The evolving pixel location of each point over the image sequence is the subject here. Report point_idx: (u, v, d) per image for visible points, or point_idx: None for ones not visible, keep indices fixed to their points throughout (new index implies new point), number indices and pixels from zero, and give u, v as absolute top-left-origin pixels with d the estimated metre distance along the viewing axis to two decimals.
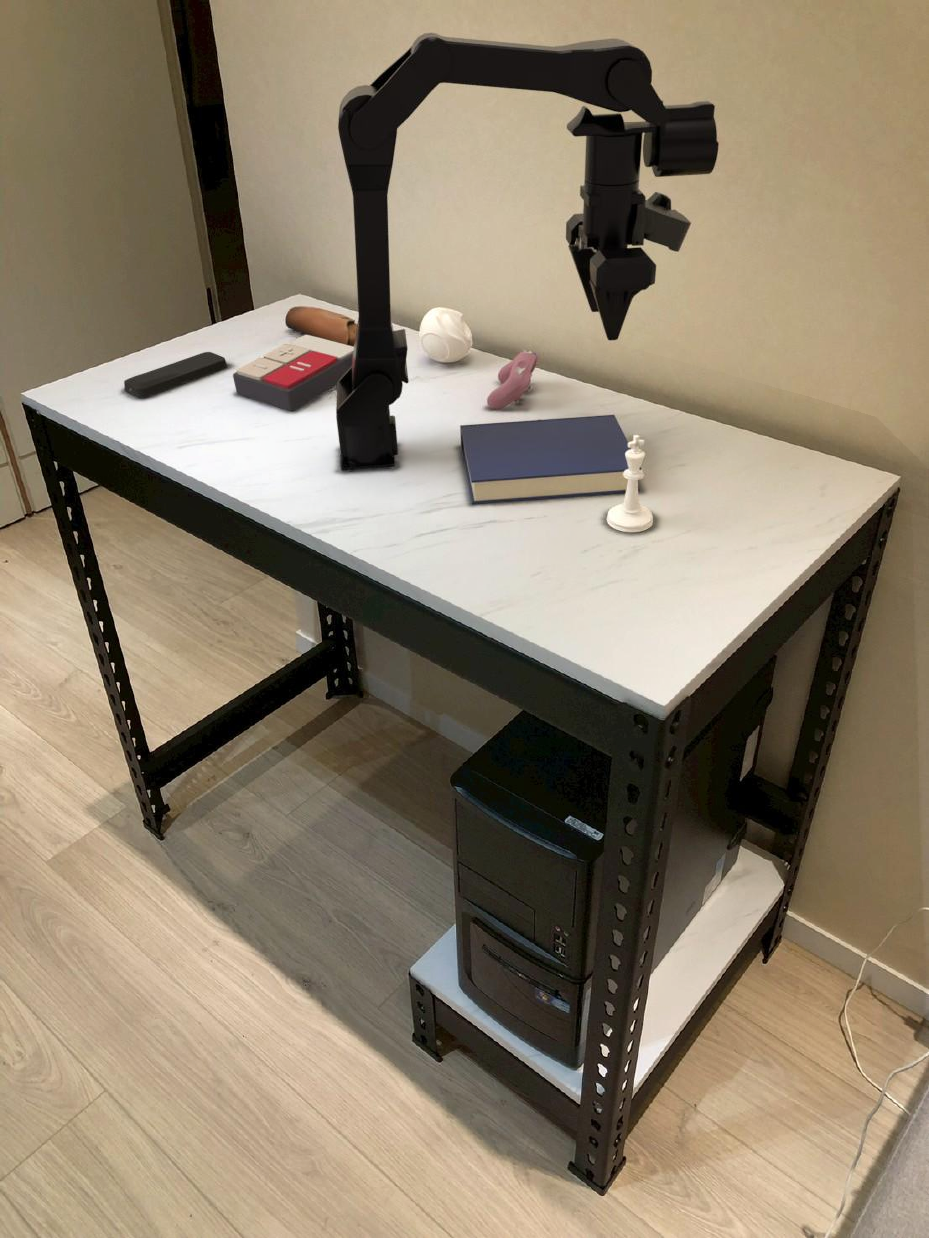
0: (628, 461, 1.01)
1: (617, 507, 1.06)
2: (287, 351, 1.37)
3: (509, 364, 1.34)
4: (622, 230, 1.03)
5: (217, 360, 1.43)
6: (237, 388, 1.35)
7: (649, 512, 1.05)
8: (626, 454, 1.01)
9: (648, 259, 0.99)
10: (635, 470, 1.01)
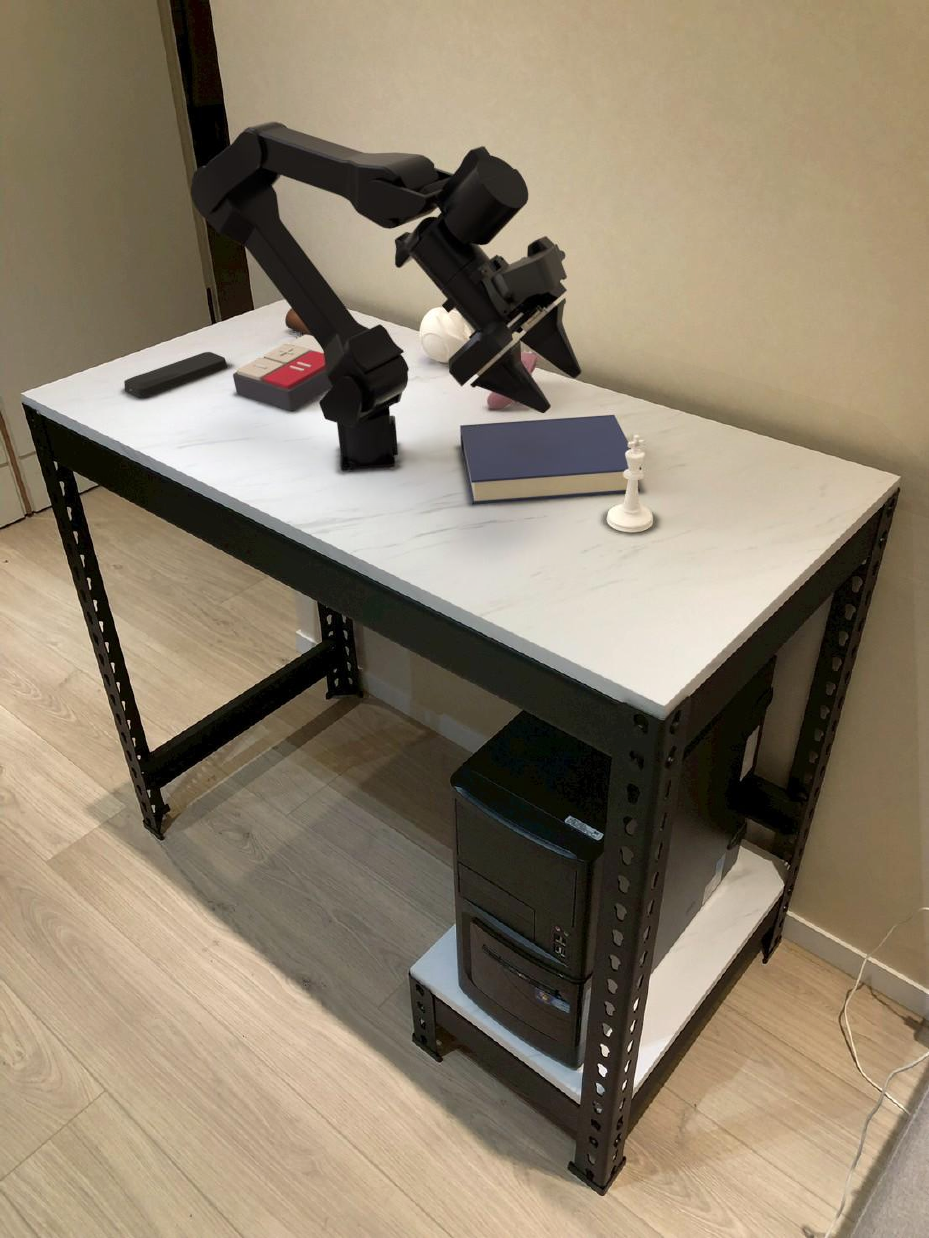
0: (628, 461, 1.01)
1: (617, 507, 1.06)
2: (287, 351, 1.37)
3: None
4: (485, 311, 0.96)
5: (218, 360, 1.43)
6: (237, 388, 1.35)
7: (649, 512, 1.05)
8: (626, 454, 1.01)
9: (478, 334, 0.91)
10: (635, 470, 1.01)
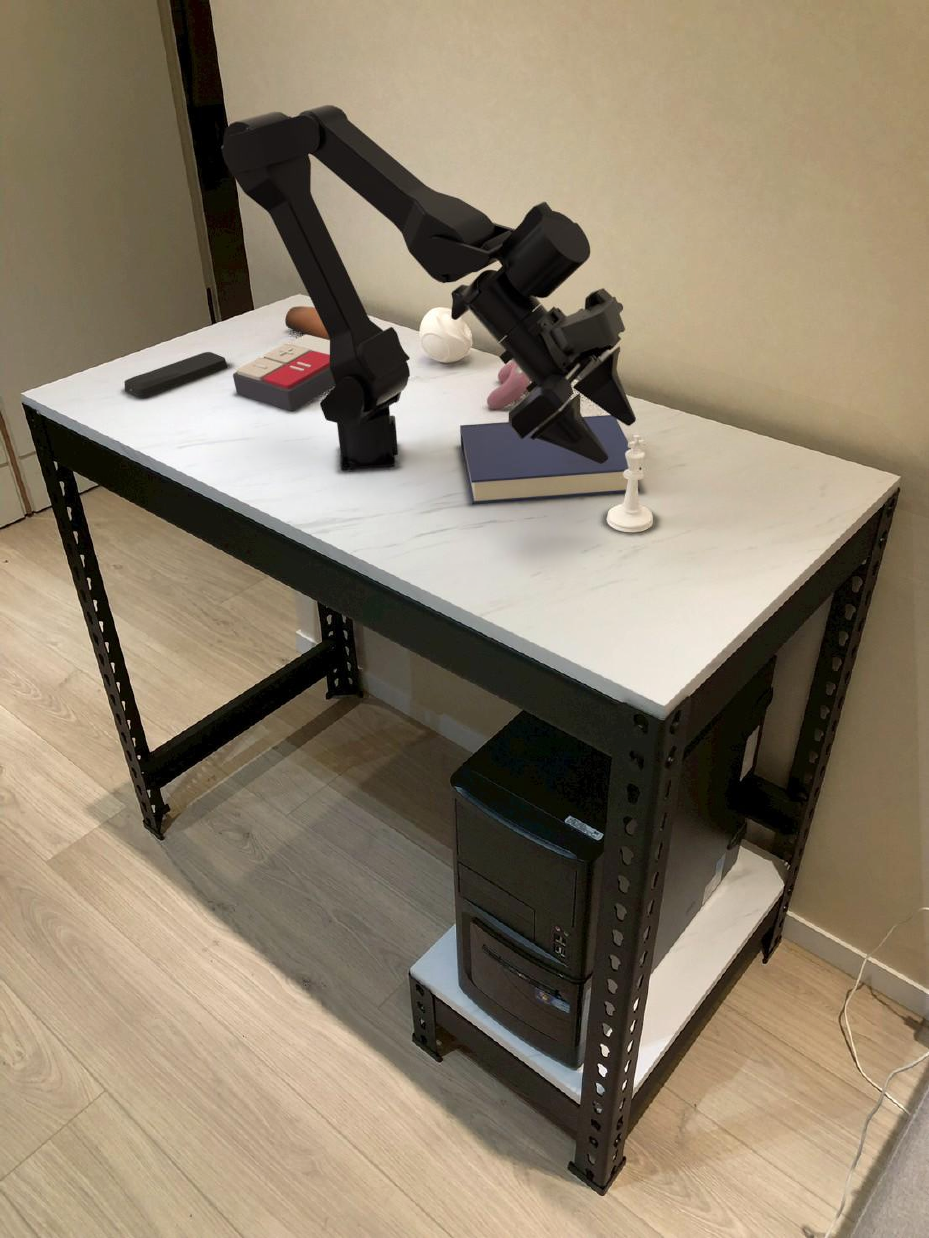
0: (628, 461, 1.01)
1: (617, 507, 1.06)
2: (287, 351, 1.37)
3: (509, 364, 1.34)
4: (544, 363, 0.96)
5: (218, 360, 1.43)
6: (237, 388, 1.35)
7: (649, 512, 1.05)
8: (626, 454, 1.01)
9: (539, 389, 0.91)
10: (635, 470, 1.01)
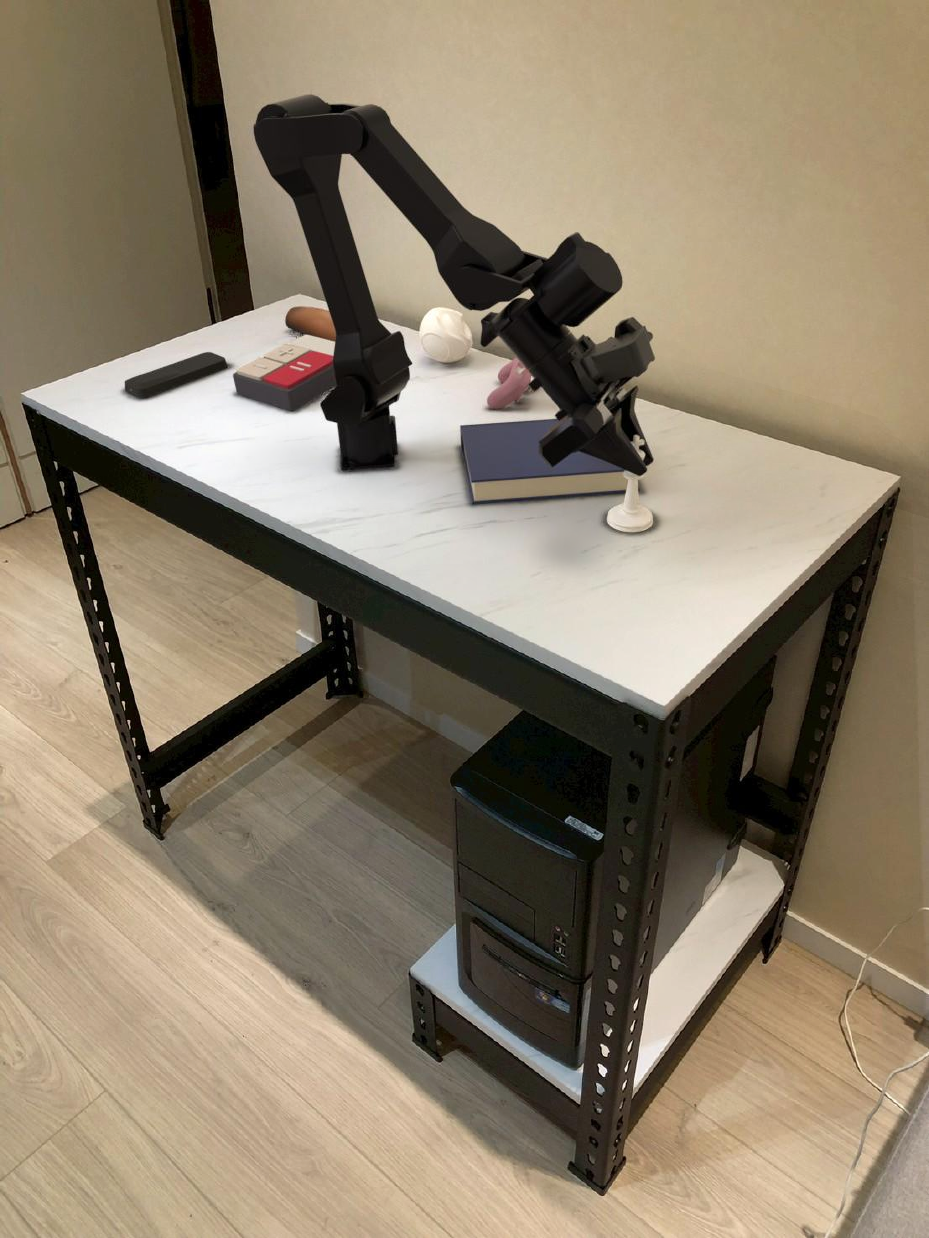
0: None
1: (617, 507, 1.06)
2: (287, 351, 1.37)
3: (509, 364, 1.34)
4: (574, 391, 0.97)
5: (218, 360, 1.43)
6: (237, 388, 1.35)
7: (649, 512, 1.05)
8: None
9: (571, 419, 0.92)
10: None
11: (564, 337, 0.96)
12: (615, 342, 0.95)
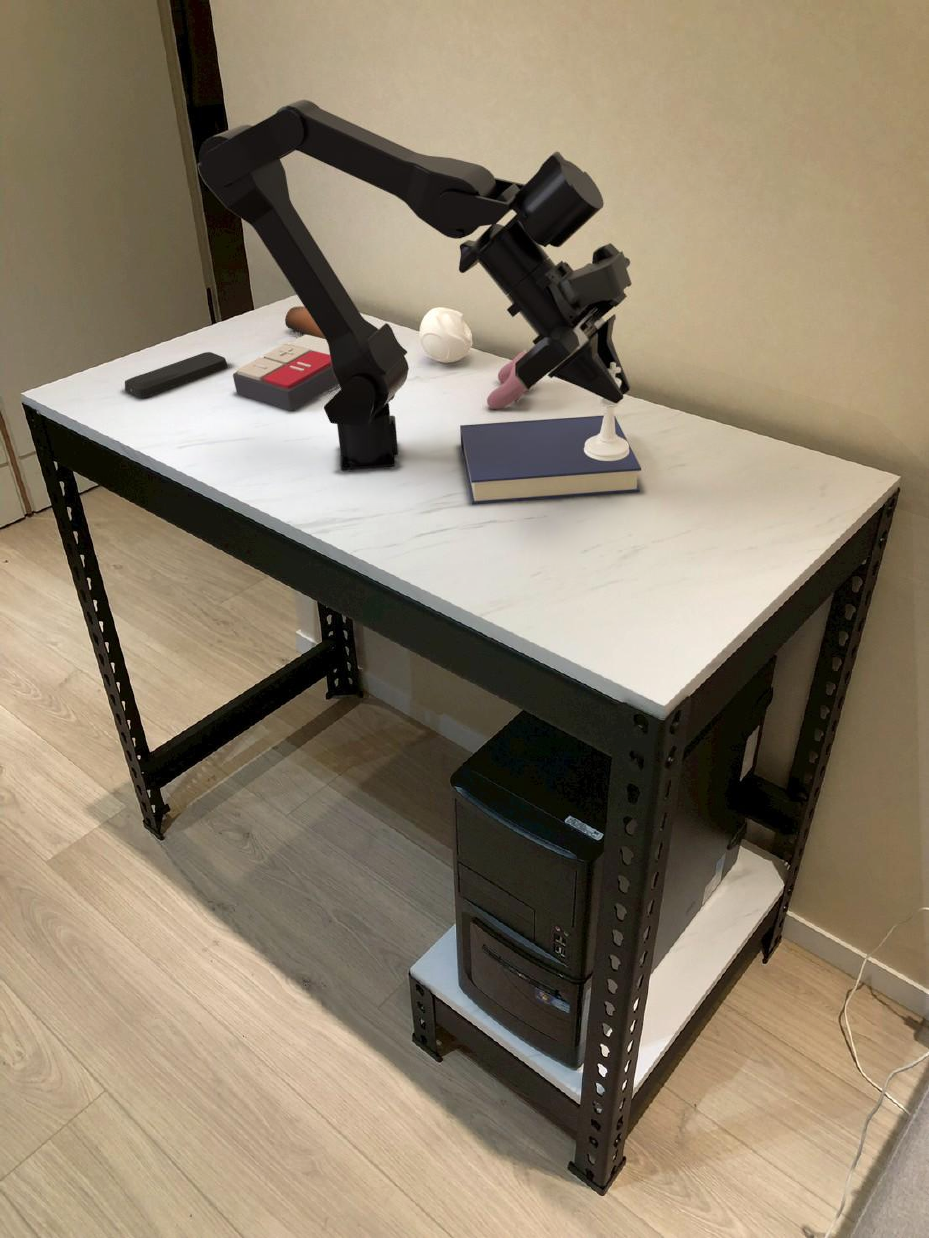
0: None
1: (594, 437, 1.07)
2: (287, 351, 1.37)
3: (509, 364, 1.34)
4: (551, 316, 0.98)
5: (218, 360, 1.43)
6: (237, 388, 1.35)
7: (625, 442, 1.06)
8: None
9: (546, 339, 0.93)
10: None
11: (542, 261, 0.97)
12: (592, 266, 0.96)
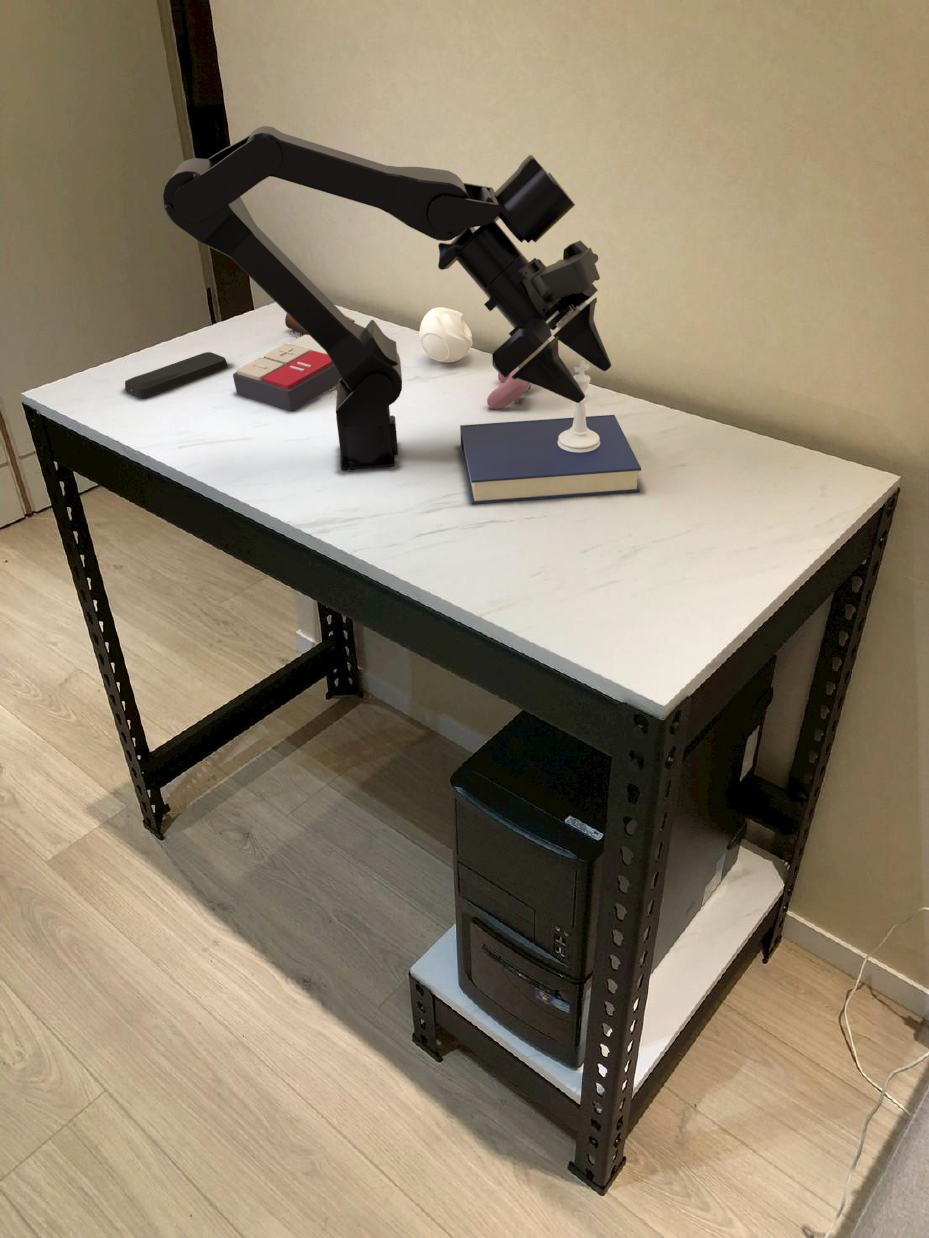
0: None
1: (567, 431, 1.14)
2: (287, 351, 1.37)
3: None
4: (525, 309, 1.05)
5: (218, 360, 1.43)
6: (237, 388, 1.35)
7: (596, 435, 1.14)
8: None
9: (520, 330, 1.00)
10: None
11: (516, 258, 1.04)
12: (563, 262, 1.03)
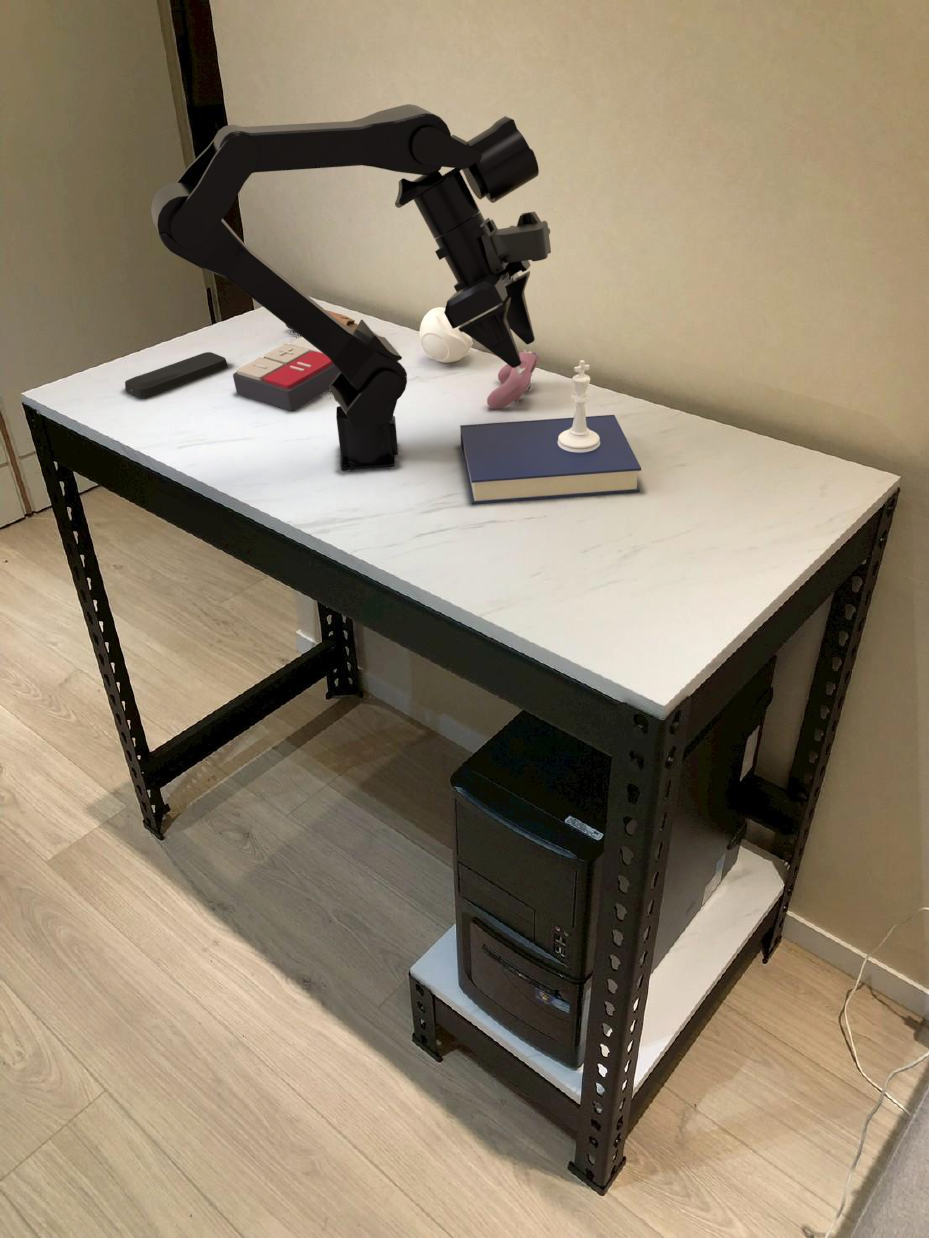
0: (575, 385, 1.09)
1: (567, 431, 1.14)
2: (287, 351, 1.37)
3: None
4: (478, 265, 1.05)
5: (218, 360, 1.43)
6: (237, 388, 1.35)
7: (596, 435, 1.14)
8: (573, 378, 1.09)
9: (483, 283, 1.00)
10: (582, 394, 1.10)
11: (476, 213, 1.04)
12: (521, 228, 1.05)
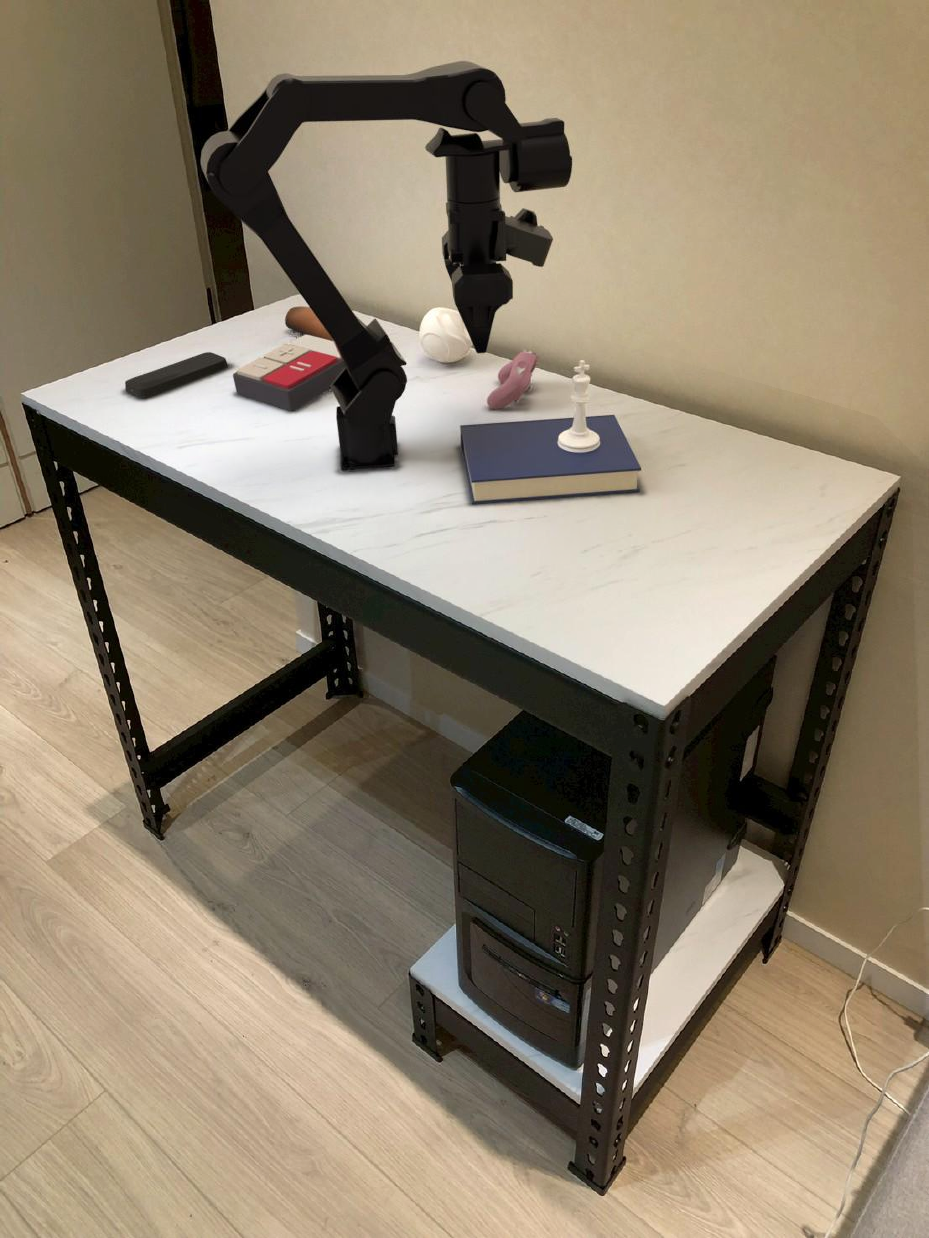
0: (575, 385, 1.09)
1: (567, 431, 1.14)
2: (287, 351, 1.37)
3: (509, 364, 1.34)
4: (484, 246, 1.06)
5: (218, 360, 1.43)
6: (237, 388, 1.35)
7: (596, 435, 1.14)
8: (573, 378, 1.09)
9: (504, 275, 1.02)
10: (582, 394, 1.10)
11: (499, 196, 1.05)
12: (528, 227, 1.08)
